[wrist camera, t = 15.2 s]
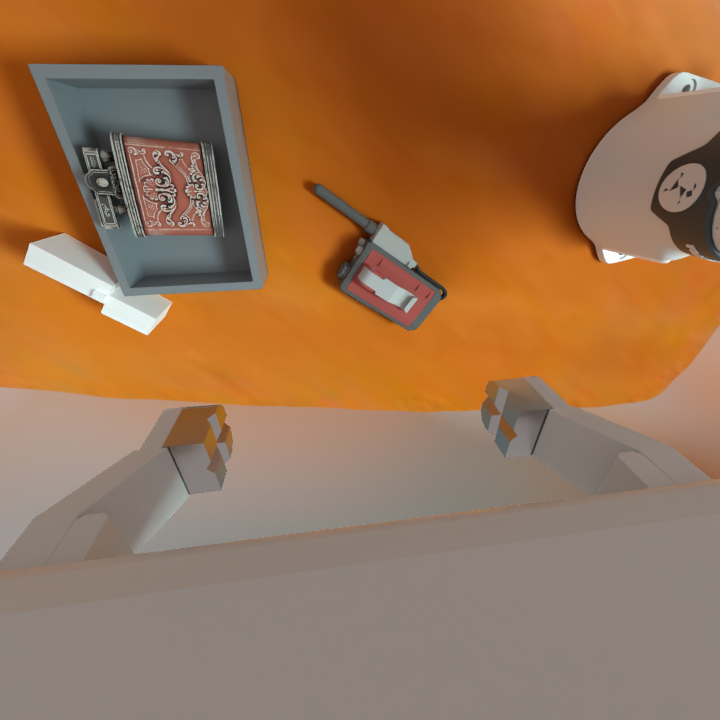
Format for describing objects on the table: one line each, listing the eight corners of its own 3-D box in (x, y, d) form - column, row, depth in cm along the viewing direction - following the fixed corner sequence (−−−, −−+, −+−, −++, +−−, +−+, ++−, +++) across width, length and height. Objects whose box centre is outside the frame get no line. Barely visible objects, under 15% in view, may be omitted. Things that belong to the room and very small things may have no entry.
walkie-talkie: (454, 276, 42) (319, 175, 34) (468, 287, 38) (320, 177, 30) (412, 329, 45) (280, 248, 37) (421, 344, 41) (276, 258, 34)
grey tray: (235, 79, 29) (222, 65, 25) (267, 274, 38) (262, 288, 34) (70, 78, 28) (27, 63, 23) (145, 280, 37) (124, 296, 33)
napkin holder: (24, 228, 33) (-25, 240, 28) (129, 198, 33) (98, 205, 28) (116, 349, 41) (90, 375, 37) (201, 326, 41) (187, 348, 36)
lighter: (210, 144, 31) (78, 131, 27) (211, 140, 28) (64, 125, 24) (222, 235, 34) (108, 235, 30) (225, 239, 32) (99, 240, 28)
